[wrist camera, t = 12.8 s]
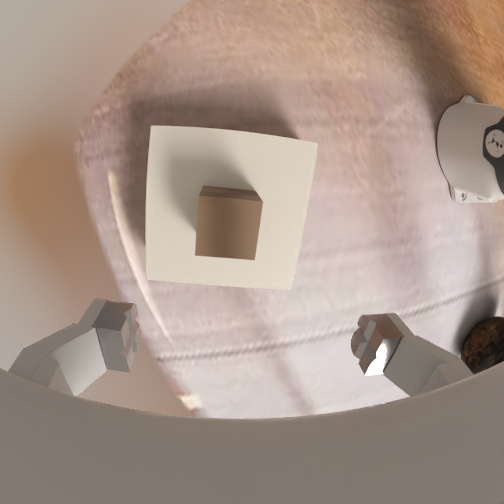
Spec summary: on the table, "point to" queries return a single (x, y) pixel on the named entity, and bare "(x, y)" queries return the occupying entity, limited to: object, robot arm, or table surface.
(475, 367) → the glass bottle
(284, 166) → the plate
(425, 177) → the table surface
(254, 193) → the walnut cube
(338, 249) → the table surface
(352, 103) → the table surface
